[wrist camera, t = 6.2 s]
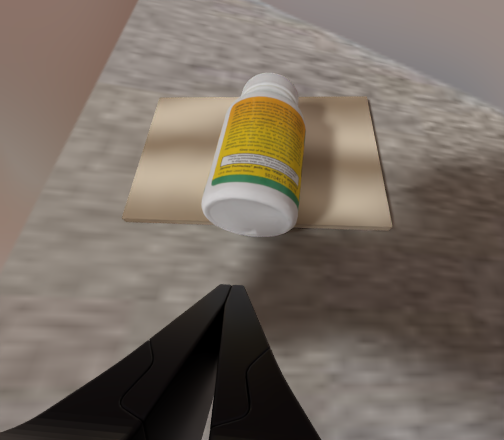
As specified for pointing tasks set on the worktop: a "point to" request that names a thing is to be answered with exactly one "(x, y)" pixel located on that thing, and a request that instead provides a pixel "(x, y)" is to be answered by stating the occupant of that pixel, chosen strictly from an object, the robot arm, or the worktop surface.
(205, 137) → the birch board
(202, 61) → the worktop surface
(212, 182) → the supplement bottle
